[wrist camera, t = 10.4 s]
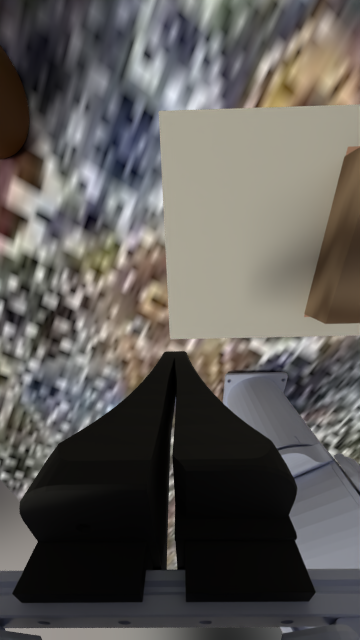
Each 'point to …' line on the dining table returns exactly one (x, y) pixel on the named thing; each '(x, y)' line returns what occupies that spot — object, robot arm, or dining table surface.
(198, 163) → the mat
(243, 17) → the dining table surface
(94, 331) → the dining table surface
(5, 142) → the mug
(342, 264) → the t block
